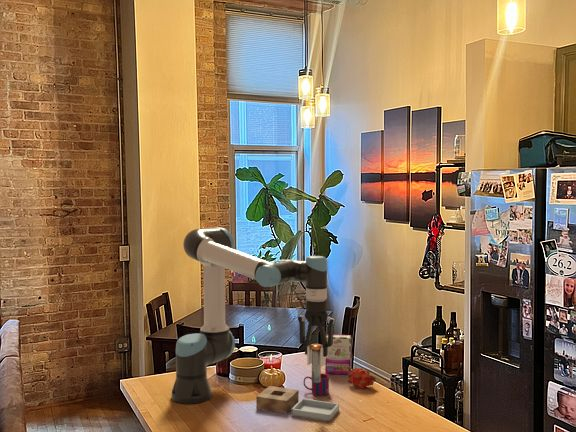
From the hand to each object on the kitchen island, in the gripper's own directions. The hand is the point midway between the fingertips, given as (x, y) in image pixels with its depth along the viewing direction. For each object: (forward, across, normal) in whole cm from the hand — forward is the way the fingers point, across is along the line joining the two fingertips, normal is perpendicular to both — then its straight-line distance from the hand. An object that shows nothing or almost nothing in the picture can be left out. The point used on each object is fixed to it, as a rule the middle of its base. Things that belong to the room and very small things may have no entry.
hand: (316, 364), depth 206 cm
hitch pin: (+6, 0, 0) cm, 6 cm away
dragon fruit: (+18, +8, +33) cm, 39 cm away
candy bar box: (+18, -6, +47) cm, 51 cm away
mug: (+18, -7, +20) cm, 28 cm away
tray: (+18, 0, 0) cm, 18 cm away
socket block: (+18, -16, +2) cm, 24 cm away
